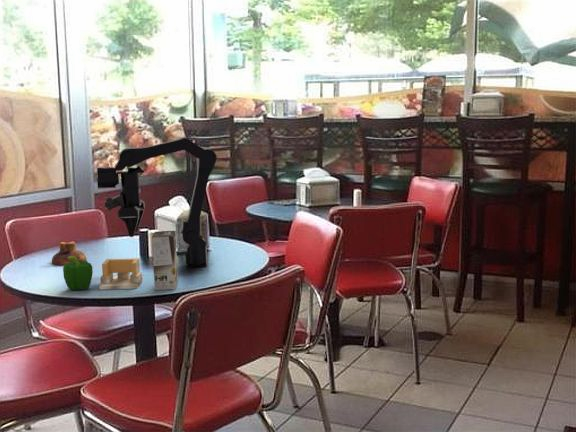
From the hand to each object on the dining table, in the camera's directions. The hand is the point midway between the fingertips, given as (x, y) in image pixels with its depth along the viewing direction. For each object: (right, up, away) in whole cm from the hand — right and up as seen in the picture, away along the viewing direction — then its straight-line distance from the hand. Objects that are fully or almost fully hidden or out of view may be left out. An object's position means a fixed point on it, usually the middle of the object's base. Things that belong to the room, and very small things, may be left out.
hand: (133, 234), depth 232 cm
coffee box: (+14, -15, -19) cm, 28 cm away
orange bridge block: (0, -12, -16) cm, 20 cm away
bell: (-26, -10, +16) cm, 32 cm away
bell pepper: (-12, -16, -20) cm, 28 cm away
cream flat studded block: (0, -15, -16) cm, 22 cm away
